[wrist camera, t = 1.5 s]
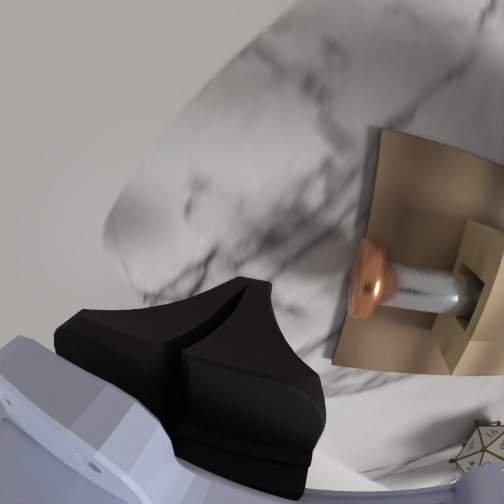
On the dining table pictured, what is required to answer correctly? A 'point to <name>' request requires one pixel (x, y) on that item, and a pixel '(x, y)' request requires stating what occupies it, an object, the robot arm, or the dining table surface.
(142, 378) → the robot arm
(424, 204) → the block
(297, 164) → the dining table surface
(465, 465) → the game die
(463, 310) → the pin
